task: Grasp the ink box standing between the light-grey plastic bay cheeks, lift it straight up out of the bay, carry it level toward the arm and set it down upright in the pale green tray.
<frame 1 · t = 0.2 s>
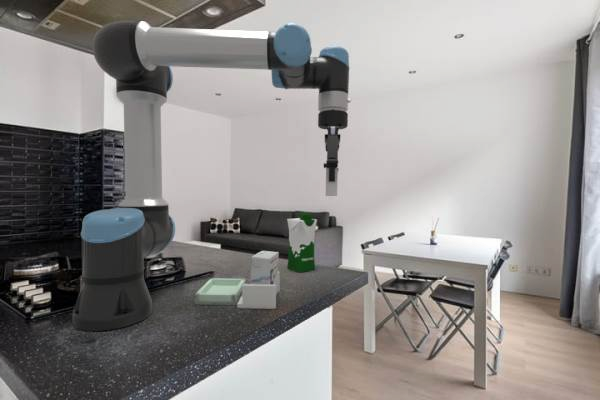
hand: (331, 195, 83), 27 cm above the counter, fingers open, 13 cm apart
bay: (262, 298, 83), on the counter
tray: (222, 295, 86), on the counter
milk carton: (300, 269, 114), on the counter
ink box: (264, 299, 84), on the counter
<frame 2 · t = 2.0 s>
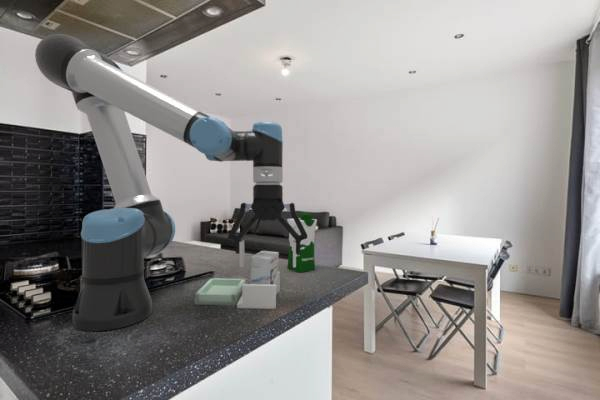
hand: (268, 266, 83), 9 cm above the counter, fingers open, 13 cm apart
nothing on the counter moved.
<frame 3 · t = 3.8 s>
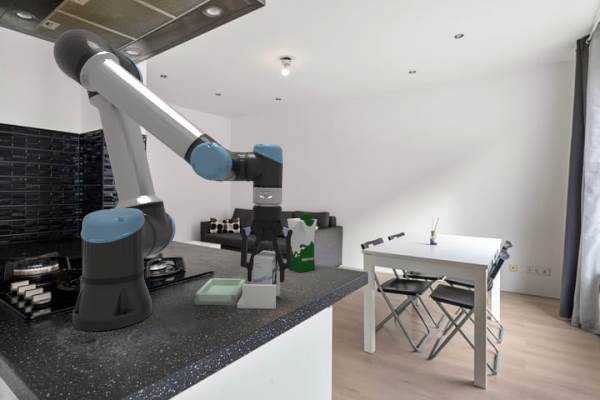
hand: (265, 293, 83), 1 cm above the counter, fingers closed on ink box, 6 cm apart
ink box: (266, 299, 84), on the counter, touching gripper
everything else where it was.
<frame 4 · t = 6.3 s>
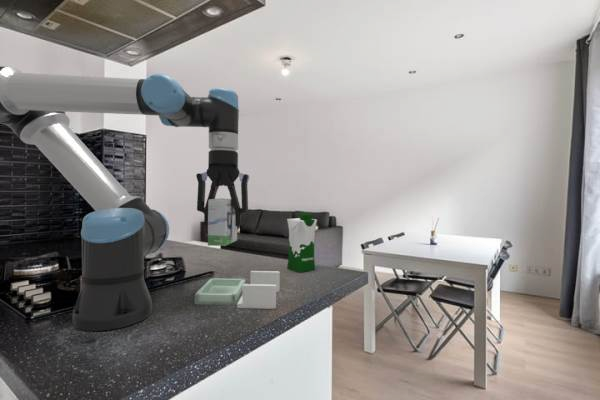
hand: (222, 238, 85), 15 cm above the counter, fingers closed on ink box, 6 cm apart
ink box: (223, 244, 85), point 14 cm above the counter, touching gripper
everything else where it was.
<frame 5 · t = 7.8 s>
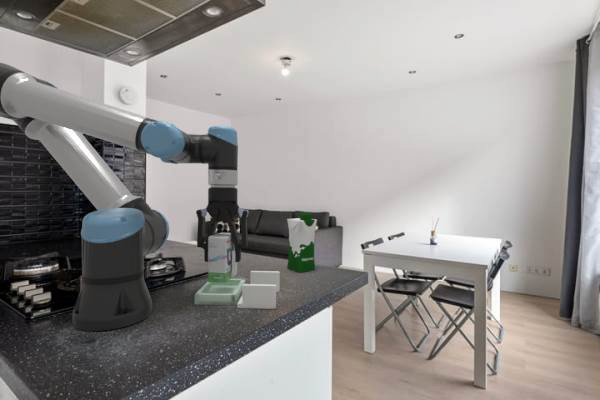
hand: (222, 273, 85), 6 cm above the counter, fingers closed on ink box, 6 cm apart
ink box: (223, 279, 86), point 4 cm above the counter, touching gripper
everything else where it was.
when the fingers open (3 cm above the counter, at t = 9.1 s): ink box drops 1 cm, resting on tray.
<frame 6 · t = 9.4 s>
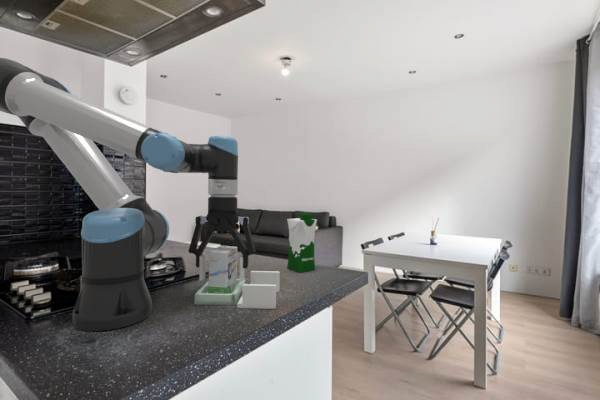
hand: (222, 279, 85), 4 cm above the counter, fingers open, 10 cm apart
ink box: (223, 292, 86), point 1 cm above the counter, touching tray
everything else where it was.
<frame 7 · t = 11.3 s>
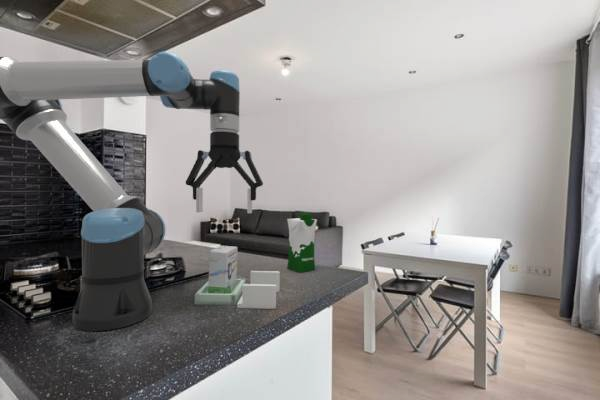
hand: (224, 212, 86), 22 cm above the counter, fingers open, 13 cm apart
nothing on the counter moved.
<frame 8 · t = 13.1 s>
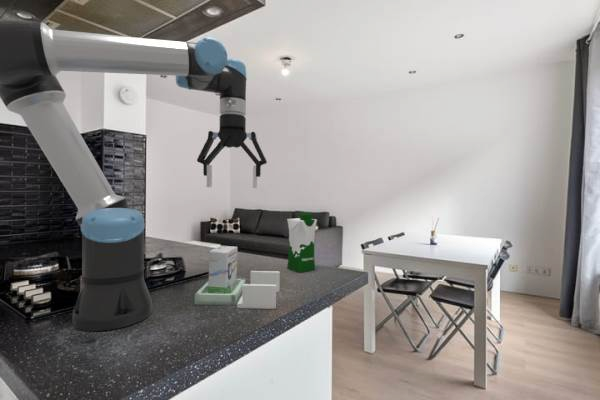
hand: (232, 187, 95), 29 cm above the counter, fingers open, 13 cm apart
nothing on the counter moved.
at the end: ink box inside the target area on the tray (0.3 cm from its centre), point 0.6 cm above the tray's base; ink box tilted 0°; the gripper is holding nothing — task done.
